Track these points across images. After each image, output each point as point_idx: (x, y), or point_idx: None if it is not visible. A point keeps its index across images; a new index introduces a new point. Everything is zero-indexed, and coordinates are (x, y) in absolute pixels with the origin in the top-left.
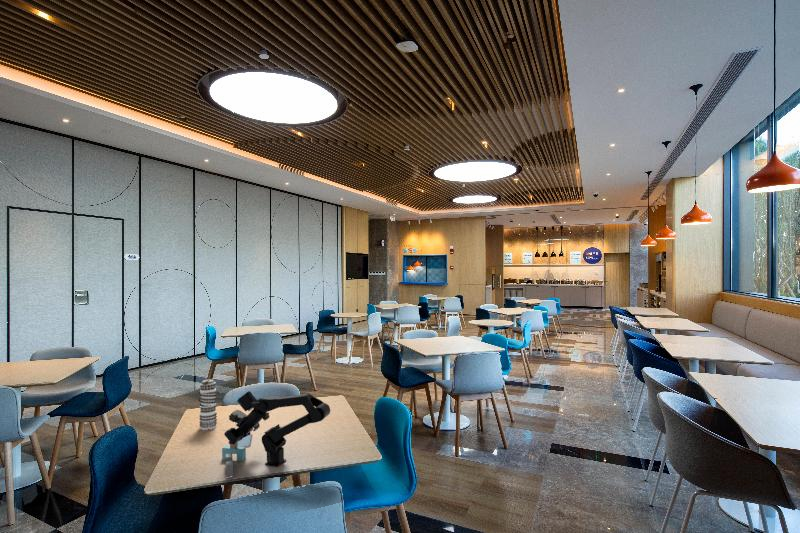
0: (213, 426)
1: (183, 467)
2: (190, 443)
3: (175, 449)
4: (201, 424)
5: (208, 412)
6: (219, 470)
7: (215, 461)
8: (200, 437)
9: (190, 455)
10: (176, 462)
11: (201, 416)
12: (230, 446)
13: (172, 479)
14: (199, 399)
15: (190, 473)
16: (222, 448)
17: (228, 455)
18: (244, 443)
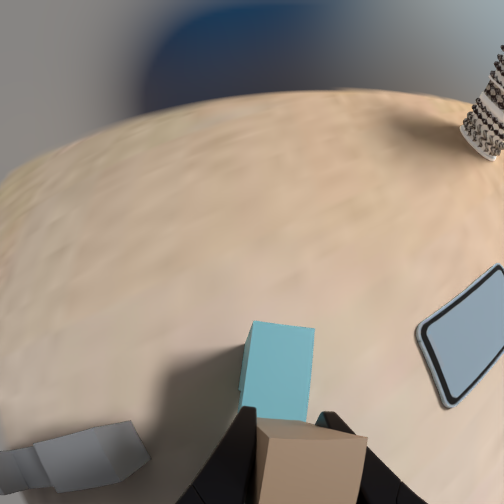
0: (486, 153)
1: (139, 174)
2: (383, 120)
3: (323, 96)
4: (468, 120)
5: (498, 107)
6: (71, 396)
7: (207, 310)
8: (430, 136)
9: (282, 146)
10: (202, 129)
11: (478, 101)
12: None
13: (33, 198)
14: (497, 62)
15: (61, 240)
16: (253, 326)
17: (68, 458)
18: (468, 351)
